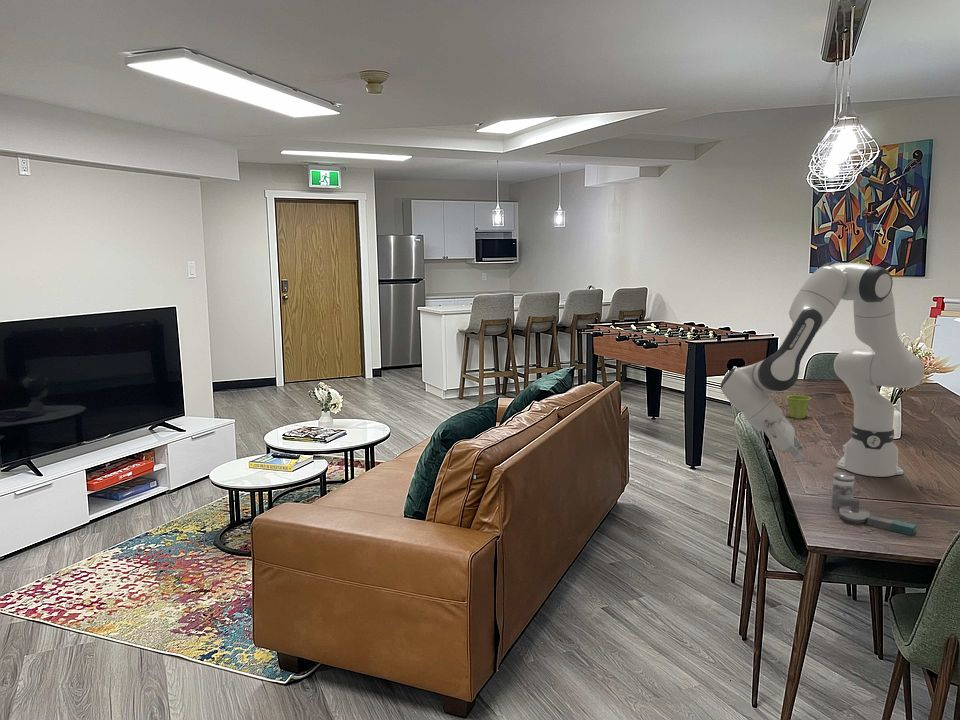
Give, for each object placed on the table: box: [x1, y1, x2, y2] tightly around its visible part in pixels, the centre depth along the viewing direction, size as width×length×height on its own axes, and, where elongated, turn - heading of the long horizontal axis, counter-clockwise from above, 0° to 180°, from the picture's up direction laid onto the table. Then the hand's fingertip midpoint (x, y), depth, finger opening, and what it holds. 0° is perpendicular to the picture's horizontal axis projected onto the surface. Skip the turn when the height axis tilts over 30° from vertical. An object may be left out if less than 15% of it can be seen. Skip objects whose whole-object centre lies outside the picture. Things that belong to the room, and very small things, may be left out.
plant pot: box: [786, 394, 812, 420], centre depth 302 cm, size 9×9×9 cm
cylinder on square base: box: [830, 471, 856, 510], centre depth 198 cm, size 5×5×9 cm
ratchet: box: [838, 498, 917, 537], centre depth 185 cm, size 18×7×6 cm, turn 46°
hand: (801, 454), depth 201 cm, fingers open, 8 cm apart
